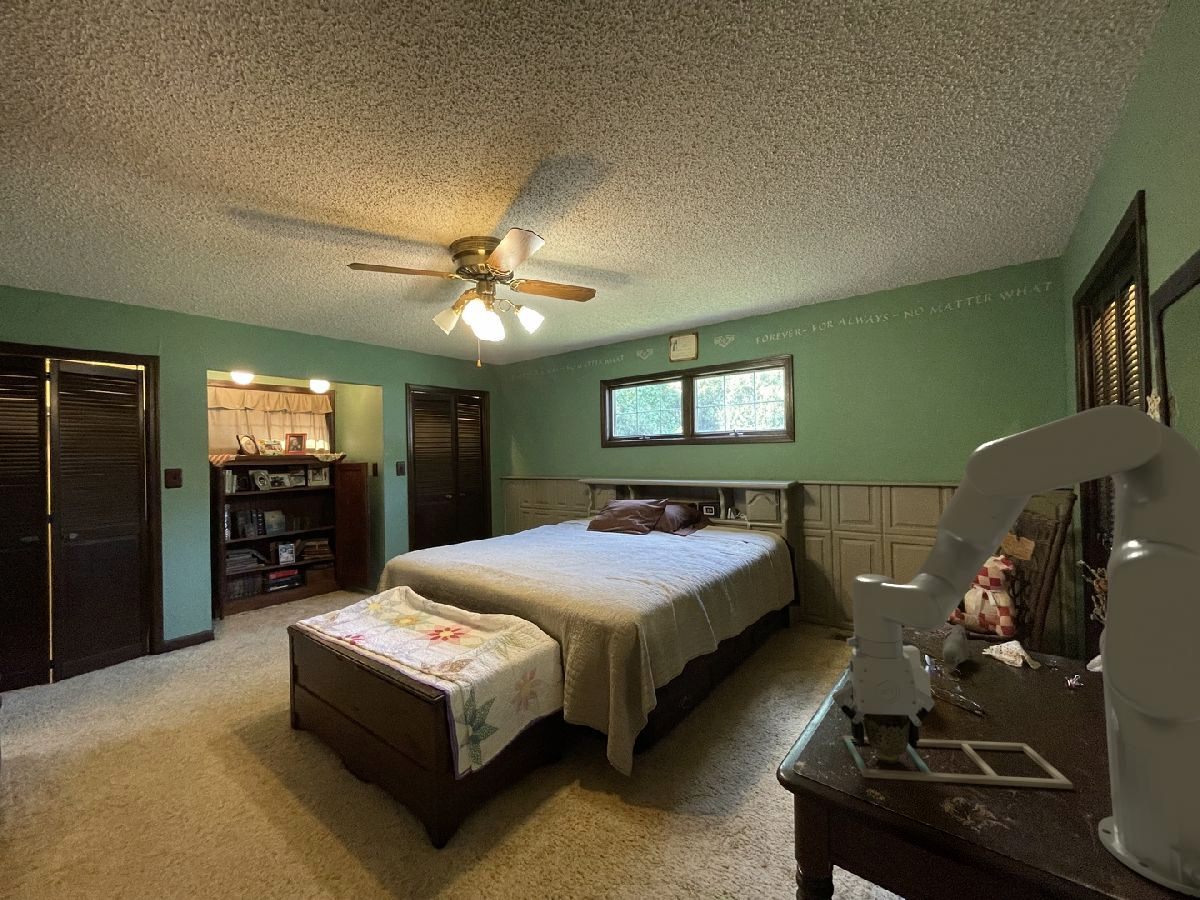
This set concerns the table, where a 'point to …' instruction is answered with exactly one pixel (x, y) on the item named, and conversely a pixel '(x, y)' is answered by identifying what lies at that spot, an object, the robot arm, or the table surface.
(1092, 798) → the table surface
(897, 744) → the dark patterned vase
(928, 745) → the ladder
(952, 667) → the decorative bird
